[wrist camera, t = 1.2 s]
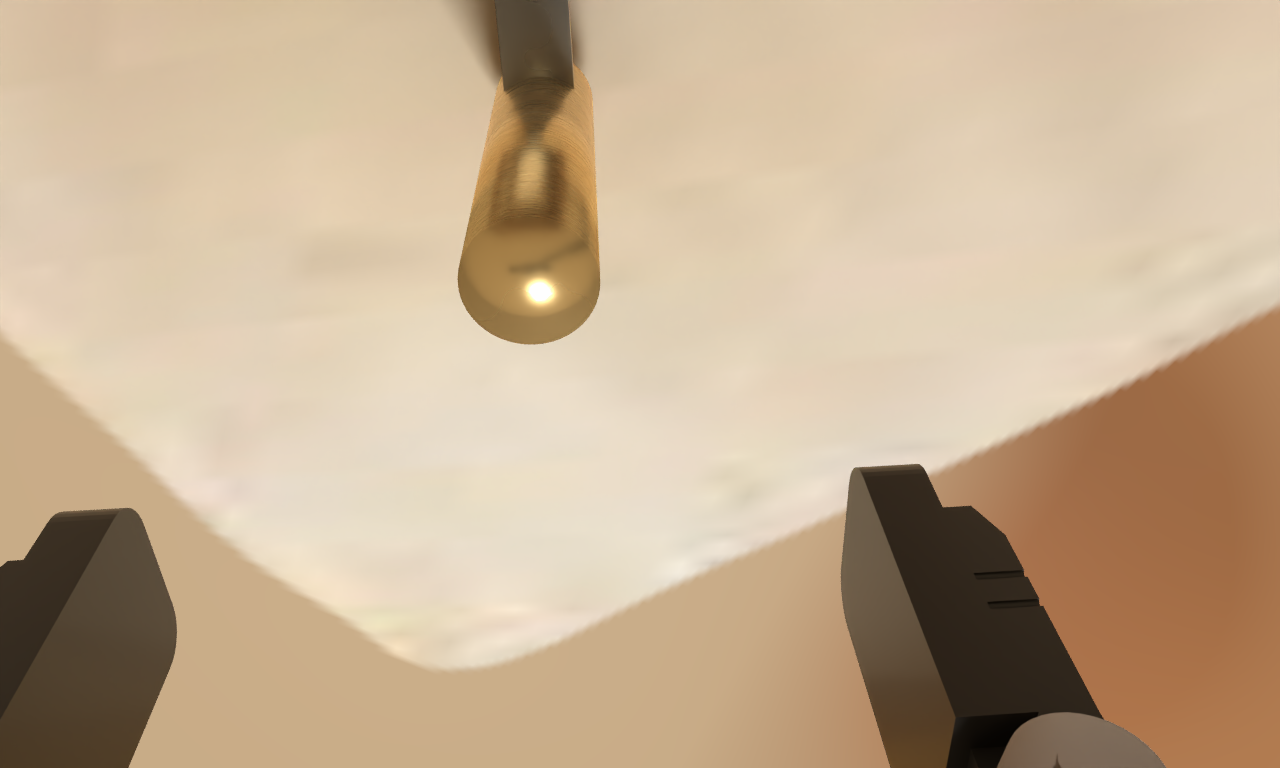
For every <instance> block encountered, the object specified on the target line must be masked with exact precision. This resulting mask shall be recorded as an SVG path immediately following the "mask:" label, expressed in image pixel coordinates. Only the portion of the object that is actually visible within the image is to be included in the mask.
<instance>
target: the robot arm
mask: <svg viewBox="0 0 1280 768" xmlns="http://www.w3.org/2000/svg"><path fill="white" fill-rule="evenodd" d="M841 590H842V601H843V608H844V614H845V619H846V623H847V626H848V630H849V633H850V636H851V640H852V643H853V646H854V649H855V653H856V656H857V659H858V663H859V666H860V669H861V672H862V675H863V679H864V682H865V685H866V689H867V692H868V695H869V699H870V702H871V705H872V708H873V712H874V715H875V718H876V721H877V725H878V728H879V731H880V735H881V738H882V741H883V745H884V748H885V751H886V754H887V758H888V761H889V764H890V767H891V768H1166V767H1165V765H1164V764H1163V763H1162V761H1161V760H1160V758H1159V757H1158V756H1157V755H1156V754H1155V753H1154V752H1153V751H1152V750H1151V749H1150V748H1149V747H1148V746H1147V745H1146V744H1145V743H1144V742H1142V741H1141V740H1140V739H1139V738H1137V737H1136V736H1135V735H1133V734H1131V733H1130V732H1128V731H1127V730H1125V729H1124V728H1121V727H1119V726H1117V725H1115V724H1113V723H1111V722H1109V721H1106V720H1104V719H1103V717H1102V715H1101V714H1100V712H1099V710H1098V709H1097V707H1096V705H1095V703H1094V701H1093V699H1092V697H1091V695H1090V694H1089V692H1088V690H1087V688H1086V686H1085V684H1084V682H1083V680H1082V678H1081V676H1080V675H1079V673H1078V671H1077V669H1076V667H1075V665H1074V663H1073V661H1072V660H1071V658H1070V656H1069V654H1068V652H1067V650H1066V648H1065V646H1064V644H1063V643H1062V641H1061V639H1060V637H1059V635H1058V634H1057V631H1056V629H1055V628H1054V626H1053V624H1052V622H1051V620H1050V618H1049V617H1048V614H1047V613H1046V611H1045V609H1044V607H1043V606H1040V604H1039V597H1038V596H1037V594H1036V592H1035V590H1034V588H1033V586H1032V584H1031V583H1030V581H1029V579H1028V577H1025V576H1024V569H1023V567H1022V565H1021V564H1020V562H1019V560H1018V558H1017V556H1016V554H1015V552H1014V551H1013V549H1012V547H1011V545H1010V543H1009V541H1008V539H1007V537H1006V535H1005V534H1004V533H1002V532H1001V531H1000V530H999V529H998V528H996V527H995V526H994V525H993V524H992V523H991V522H989V521H988V520H987V519H986V518H985V517H983V516H982V515H981V514H980V513H979V512H978V511H976V510H975V509H974V508H972V506H962V507H944V508H943V507H942V505H941V503H940V501H939V499H938V497H937V495H936V492H935V490H934V488H933V486H932V484H931V482H930V480H929V477H928V475H927V473H926V471H925V470H924V468H923V467H922V466H921V465H920V464H909V465H892V466H875V467H858V468H854V469H853V471H852V473H851V476H850V482H849V491H848V502H847V512H846V523H845V534H844V544H843V555H842V566H841ZM176 636H177V627H176V617H175V611H174V608H173V604H172V602H171V599H170V596H169V593H168V591H167V588H166V585H165V582H164V579H163V577H162V574H161V571H160V568H159V566H158V563H157V560H156V557H155V555H154V552H153V549H152V546H151V543H150V541H149V538H148V535H147V532H146V530H145V527H144V524H143V522H142V519H141V518H140V516H139V515H138V513H137V512H136V511H134V510H133V509H131V508H119V509H103V510H102V509H101V510H84V511H67V512H59V513H57V514H55V515H54V516H53V517H52V518H51V519H50V520H49V522H48V523H47V524H46V526H45V528H44V529H43V531H42V532H41V534H40V535H39V537H38V538H37V540H36V542H35V543H34V545H33V546H32V548H31V549H30V551H29V552H28V554H27V556H26V557H25V558H24V560H17V561H7V562H6V563H5V564H4V565H3V566H1V567H0V768H128V767H129V765H130V762H131V760H132V757H133V755H134V753H135V750H136V748H137V746H138V743H139V741H140V738H141V736H142V734H143V731H144V729H145V727H146V724H147V722H148V719H149V717H150V715H151V712H152V710H153V707H154V705H155V703H156V700H157V698H158V695H159V693H160V691H161V688H162V686H163V684H164V681H165V679H166V677H167V674H168V672H169V669H170V667H171V664H172V661H173V658H174V654H175V648H176V638H177V637H176Z"/></svg>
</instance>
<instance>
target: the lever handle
mask: <svg viewBox="0 0 1280 768" xmlns="http://www.w3.org/2000/svg"><path fill="white" fill-rule="evenodd" d="M495 9H496V19H497V28H498V38H499V48H500V58H501V68H502V77H501V79H500V81H499V84H498V87H497V91H496V96H495V100H494V105H493V110H492V115H491V119H490V124H489V129H488V133H487V138H486V143H485V147H484V152H483V157H482V162H481V166H480V171H479V176H478V180H477V185H476V190H475V194H474V199H473V204H472V209H471V213H470V218H469V223H468V227H467V232H466V237H465V241H464V246H463V251H462V256H461V260H460V265H459V270H458V288H459V293H460V296H461V299H462V302H463V304H464V306H465V308H466V310H467V311H468V313H469V314H470V315H471V317H472V318H473V319H474V320H475V321H476V322H477V323H478V324H479V325H480V326H481V327H482V328H484V329H485V330H486V331H488V332H489V333H491V334H493V335H495V336H497V337H499V338H501V339H504V340H507V341H510V342H514V343H520V344H543V343H548V342H552V341H555V340H558V339H561V338H563V337H565V336H567V335H569V334H570V333H572V332H573V331H575V330H576V329H577V328H579V327H580V326H581V325H582V324H583V323H584V322H585V321H586V320H587V318H588V317H589V316H590V314H591V313H592V311H593V309H594V307H595V305H596V302H597V299H598V296H599V290H600V266H599V242H598V219H597V195H596V171H595V147H594V123H593V100H592V92H591V89H590V86H589V83H588V81H587V79H586V77H585V76H584V74H583V73H582V72H581V70H580V69H579V68H578V67H577V66H576V65H574V64H573V52H572V37H571V22H570V6H569V0H495Z"/></svg>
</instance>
